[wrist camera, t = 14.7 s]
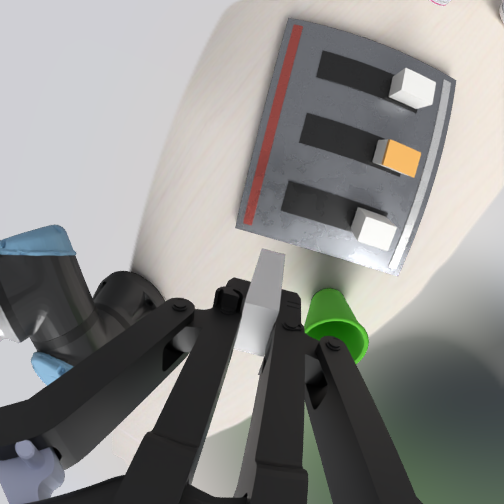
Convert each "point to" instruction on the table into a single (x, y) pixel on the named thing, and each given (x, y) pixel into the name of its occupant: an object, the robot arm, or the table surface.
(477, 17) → the table surface
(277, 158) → the panel
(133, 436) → the table surface
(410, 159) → the block
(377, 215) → the block
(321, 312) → the cup
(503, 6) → the white oval ovoid
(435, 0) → the pill bottle
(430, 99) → the block
